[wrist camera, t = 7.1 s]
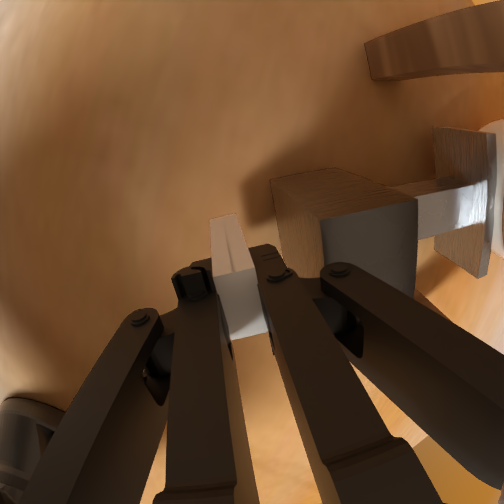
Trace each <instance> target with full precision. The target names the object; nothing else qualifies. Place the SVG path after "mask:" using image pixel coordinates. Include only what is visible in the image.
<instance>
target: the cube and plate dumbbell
mask: <svg viewBox="0 0 504 504" xmlns="http://www.w3.org/2000/svg"><path fill="white" fill-rule="evenodd" d="M432 129H433V140H434V154H435V177H436V179H431V180H425V181H419V182H413V183H408V184H402V185H396V186H391V187H387V186H384V185H382V184H379V183H377V182H374V181H371V180H369V179H366V178H363V177H360V176H358V175H355V174H352V173H349V172H347V171H344V170H341V169H338V168H330V169H324V170H318V171H312V172H307V173H301V174H296V175H291V176H286V177H280V178H275V179H270V183H271V189H272V195H273V200H274V206H275V212H276V218H277V224H278V230H279V236H280V242H281V248H282V254H283V260H284V261H285V263H286V265H287V266H288V268H291V269H293V270H294V271H295V272H296V273H297V275H298V276H299V277H300V278H318V277H320V270H321V269H322V268H323V267H325V266H326V265H328V264H332V263H334V262H346V263H351V264H354V265H356V266H358V267H359V268H361V269H363V270H365V271H366V272H368V273H370V274H372V275H373V276H375V277H377V278H379V279H380V280H382V281H384V282H386V283H387V284H389V285H391V286H392V287H394V288H396V289H398V290H399V291H401V292H403V293H404V294H406V295H408V296H409V297H411V298H413V299H414V290H415V279H416V266H417V247H418V240H420V239H424V238H427V237H431V236H434V235H435V241H434V250H436V251H437V252H439V253H440V254H442V255H443V256H445V257H446V258H448V259H449V260H451V261H452V262H454V263H455V264H457V265H458V266H460V267H461V268H463V269H464V270H466V271H467V272H468V273H470V274H471V275H473V276H474V277H476V278H477V279H479V278H481V277H483V276H485V275H487V271H488V265H489V259H490V252H491V245H492V237H493V228H494V204H495V193H496V185H497V148H496V134H495V133H489V132H483V131H477V130H470V129H462V128H454V127H445V126H434V127H432Z"/></svg>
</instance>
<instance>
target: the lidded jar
mask: <svg viewBox="0 0 504 504" xmlns="http://www.w3.org/2000/svg"><path fill="white" fill-rule="evenodd" d="M478 131H483V132H489V133H495V134H496V148H497V185H496V193H495V204H494V228H493V237H492V245H491V251H493V252H494V253H495V254H496V255H498V256H499V257H501V258H502V259H504V119H501V120H496V121H493V122H491V123H489V124H487V125H485V126H483V127H482V128H481V129H480V130H478Z"/></svg>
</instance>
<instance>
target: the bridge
mask: <svg viewBox="0 0 504 504" xmlns="http://www.w3.org/2000/svg"><path fill="white" fill-rule="evenodd" d="M364 44H365V48H366V53H367V58H368V62H369V67H370V72H371V78H372V80H406V79H413V78H421V77H429V76H439V75H450V74H463V73H483V72H504V0H500V1H495V2H490V3H485V4H481V5H477V6H473V7H469V8H465V9H461V10H457V11H454V12H450V13H447V14H443V15H440V16H437V17H434V18H430V19H427V20H424V21H421V22H418V23H416V24H413V25H410V26H407V27H404V28H402V29H399V30H396V31H394V32H391V33H389V34H386V35H384V36H381V37H379V38H376V39H374V40H371V41H369V42H367V43H364ZM414 299H415V300H416V301H418V302H420V303H421V304H423V305H425V306H426V307H428V308H430V309H431V310H433V311H435V312H436V313H438V314H439V315H441V316H443V317H444V318H446V319H448V318H447V317H446V316H445V315H444V314H443V313H442V312H441V311H440V310H439V309H438V308H436V307H435V306H434V305H433V304H432V303H431V302H430V301H429V300H428V299H427V298H425V297H424V296H423V295H422V294H421V293H420V292H419V291H418V290H416V289H415V290H414ZM448 320H449V319H448ZM449 321H451V320H449ZM451 322H452V321H451Z"/></svg>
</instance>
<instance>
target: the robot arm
mask: <svg viewBox="0 0 504 504" xmlns="http://www.w3.org/2000/svg"><path fill="white" fill-rule="evenodd" d="M209 221H210V240H211V258H208V259H204V260H200V261H195V262H192V263H191V265H190V266H189V267H185V268H183V269H181V270H179V271H177V272H176V273H175V274H174V275H173V276H172V278H171V280H172V283H173V286H174V288H175V291H176V294H177V297H178V307H177V308H176V309H174V310H173V311H170V312H168V313H166V314H164V315H161V316H159V314H158V312H157V310H155V309H153V308H144V309H139V310H136V311H134V312H133V313H131V314H130V315H128V316H127V317H126V318H125V320H124V321H123V322H122V324H121V325H120V327H119V328H118V330H117V331H116V333H115V334H114V336H113V337H112V339H111V340H110V342H109V343H108V345H107V347H106V348H105V350H104V351H103V353H102V354H101V356H100V357H99V359H98V361H97V362H96V364H95V365H94V367H93V368H92V370H91V372H90V373H89V375H88V376H87V378H86V380H85V381H84V383H83V385H82V386H81V388H80V390H79V391H78V393H77V395H76V396H75V398H74V400H73V401H72V403H71V405H70V406H69V408H68V410H67V411H66V413H64V412H62V411H60V410H58V409H55V408H53V407H51V406H48V405H46V404H43V403H40V402H37V401H33V400H29V399H24V398H10V399H7V400H5V401H4V402H3V403H2V404H1V406H0V504H140V501H141V497H142V494H143V491H144V488H145V485H146V482H147V479H148V476H149V473H150V470H151V467H152V464H153V461H154V458H155V455H156V452H157V449H158V446H159V443H160V440H161V437H162V434H163V431H164V428H165V425H166V422H167V419H168V424H167V446H166V483H165V488H164V490H163V491H162V492H160V493H158V494H156V496H155V498H154V500H153V504H260V502H259V497H258V492H257V487H256V482H255V476H254V471H253V465H252V460H251V454H250V449H249V443H248V437H247V432H246V426H245V420H244V414H243V408H242V402H241V396H240V390H239V383H238V377H237V370H236V364H235V357H234V351H233V347H232V343H231V340H236V339H240V338H244V337H249V336H253V335H257V334H261V333H265V332H269V337H270V342H271V347H272V352H273V355H275V357H276V360H277V363H278V367H279V370H280V373H281V376H282V379H283V382H284V385H285V389H286V392H287V395H288V398H289V401H290V404H291V407H292V410H293V414H294V417H295V420H296V423H297V426H298V429H299V432H300V435H301V438H302V441H303V445H304V448H305V451H306V454H307V457H308V460H309V463H310V466H311V469H312V472H313V475H314V478H315V481H316V484H317V487H318V490H319V493H320V496H321V500H322V503H323V504H446V503H443V502H442V501H441V499H440V497H439V495H438V493H437V491H436V489H435V488H434V486H433V484H432V482H431V480H430V479H429V477H428V475H427V473H426V471H425V470H424V468H423V466H422V464H421V463H420V461H419V459H418V457H417V455H416V454H415V453H414V450H413V449H412V447H411V446H410V445H409V443H408V442H407V441H406V440H404V439H403V438H401V437H393V436H392V435H391V434H390V432H389V431H388V429H387V427H386V425H385V424H384V422H383V420H382V418H381V416H380V415H379V413H378V411H377V409H376V408H375V406H374V404H373V402H372V400H371V399H370V397H369V395H368V393H367V392H366V390H365V388H364V386H363V385H362V383H361V381H360V379H359V378H358V376H357V374H356V372H355V371H354V369H353V367H352V365H351V364H350V362H351V363H352V364H353V365H354V366H355V367H356V368H357V369H358V370H359V371H360V372H361V373H362V374H363V375H365V376H366V377H367V378H368V379H369V380H370V381H371V382H372V383H373V384H374V385H375V386H376V387H377V388H378V389H379V390H381V391H382V392H383V393H384V394H385V395H386V396H387V397H388V398H389V399H390V400H391V401H392V402H393V403H394V404H396V405H397V406H398V407H399V408H400V409H401V410H402V411H403V412H404V413H405V414H406V415H407V416H408V417H410V418H411V419H412V420H413V421H414V422H415V423H416V424H417V425H418V426H419V427H420V428H421V429H422V430H424V431H425V432H426V433H427V434H428V435H429V436H430V437H431V438H432V439H433V440H435V441H436V442H437V443H438V444H439V445H440V446H441V447H442V448H443V449H444V450H445V451H446V452H448V453H449V454H450V455H451V456H452V457H453V458H454V459H455V460H456V461H458V462H459V463H460V464H461V465H462V466H463V467H464V468H465V469H466V470H467V471H469V472H470V473H471V474H473V475H474V476H475V477H476V478H478V479H479V480H481V481H483V482H484V483H486V484H488V485H489V486H491V487H494V488H496V489H499V490H501V496H500V498H499V502H498V503H499V504H504V355H503V354H501V353H500V352H498V351H497V350H495V349H494V348H492V347H491V346H489V345H488V344H486V343H484V342H483V341H481V340H480V339H478V338H477V337H475V336H473V335H472V334H470V333H469V332H467V331H465V330H464V329H462V328H461V327H459V326H457V325H456V324H454V323H453V322H451V321H449V320H448V319H446V318H444V317H443V316H441V315H439V314H438V313H436V312H435V311H433V310H431V309H430V308H428V307H426V306H425V305H423V304H421V303H420V302H418V301H416V300H415V299H413V298H411V297H409V296H408V295H406V294H404V293H403V292H401V291H399V290H398V289H396V288H394V287H392V286H391V285H389V284H387V283H386V282H384V281H382V280H380V279H379V278H377V277H375V276H373V275H372V274H370V273H368V272H366V271H365V270H363V269H361V268H359V267H358V266H356V265H354V264H351V263H346V262H334V263H332V264H328V265H326V266H325V267H323V268H322V269H321V270H320V277H318V278H300V277H299V276H298V275H297V273H296V272H295V271H294V270H293V269H291V268H287V266H286V264H285V263H284V261H283V259H282V257H281V256H280V254H279V253H278V251H277V249H276V247H275V246H272V245H270V244H264V245H260V246H256V247H251V248H248V247H247V244H246V241H245V238H244V236H243V233H242V230H241V227H240V224H239V222H238V219H237V216H236V213H235V214H230V215H226V216H222V217H217V218H213V219H209ZM230 338H231V340H230ZM349 361H350V362H349ZM143 370H144V372H143Z"/></svg>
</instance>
